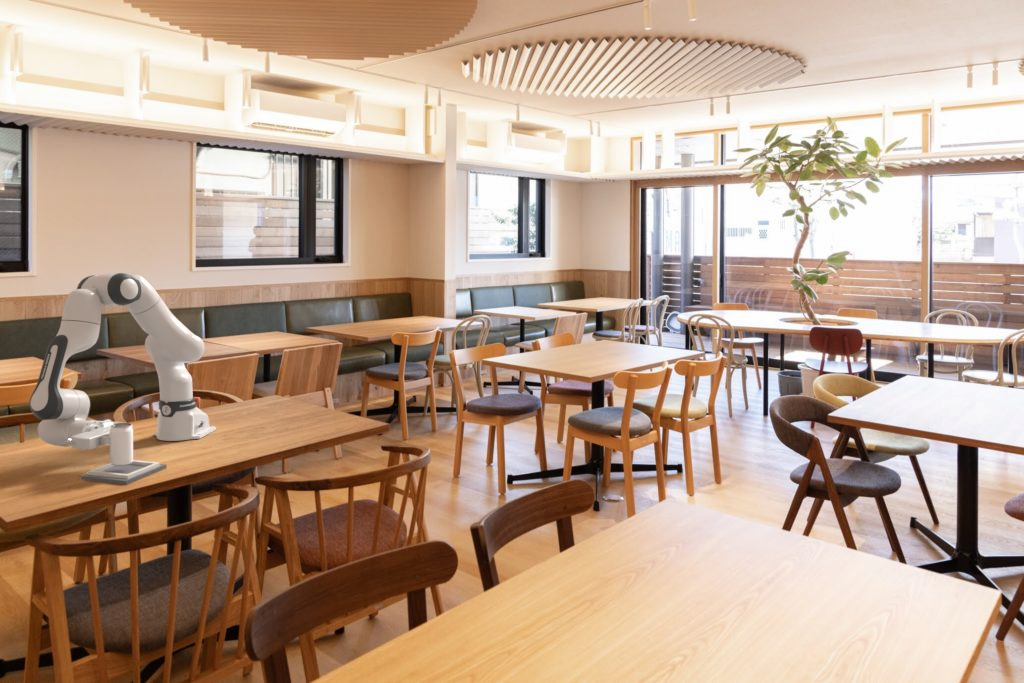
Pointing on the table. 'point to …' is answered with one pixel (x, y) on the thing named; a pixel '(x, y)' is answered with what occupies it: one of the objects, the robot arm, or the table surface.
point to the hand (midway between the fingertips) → (125, 438)
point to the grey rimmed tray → (123, 472)
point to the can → (121, 444)
